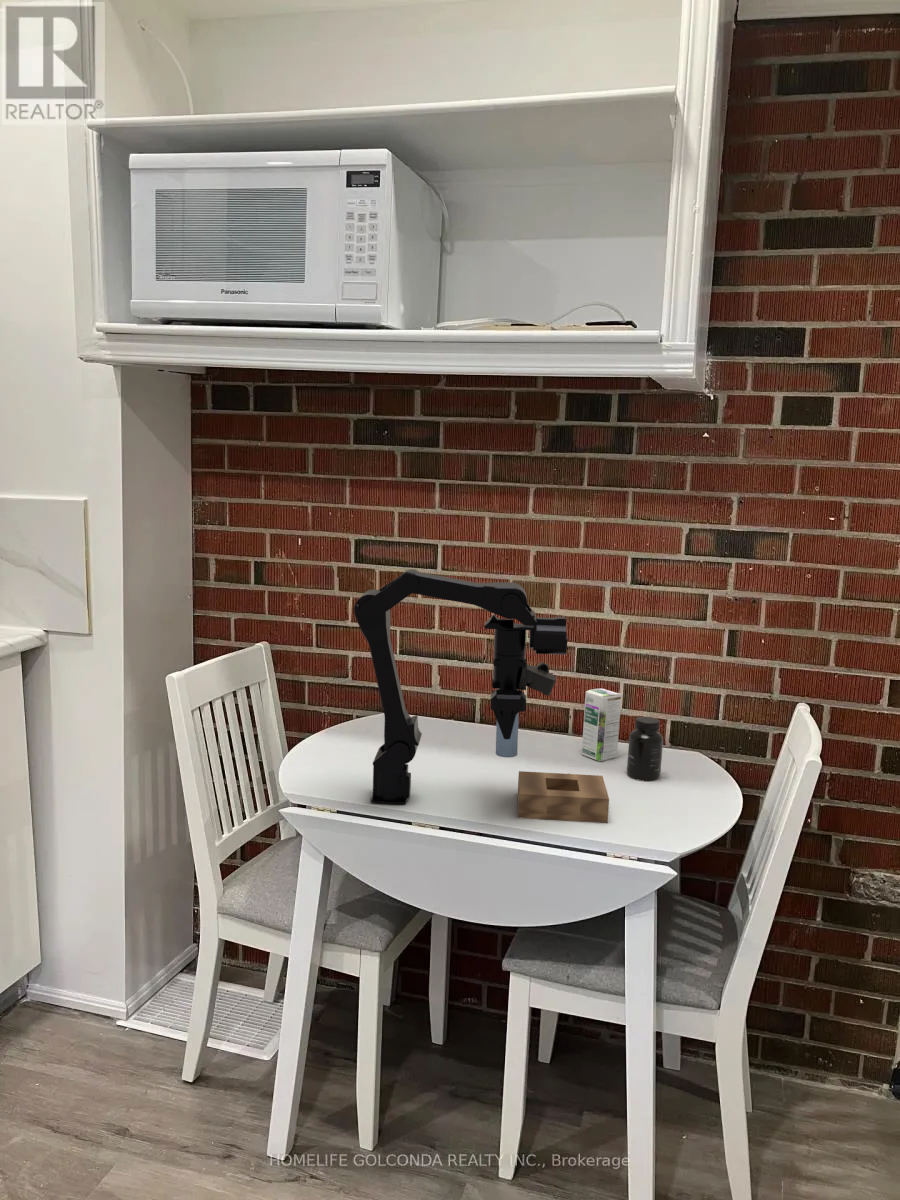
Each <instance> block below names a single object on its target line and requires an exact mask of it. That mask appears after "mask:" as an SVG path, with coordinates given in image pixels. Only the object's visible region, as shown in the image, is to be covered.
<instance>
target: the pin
mask: <svg viewBox="0 0 900 1200" xmlns="http://www.w3.org/2000/svg"><path fill="white" fill-rule="evenodd" d="M519 714H520V712H519V713H517V714H516V717H515V721H514V725H513V729H512V733H511V737H510V739H504V737H503V735H502V732H501V730H500V727H499V724H498V722H497V721H496V725H495V727H496V730H495V731H496V732H495V734H496V735H495V755H496V756H498V757H501V758H514V757H516V756H518V746H519V743H518V741H519V740H518V739H519V718H520V717H519V716H520V715H519Z"/></svg>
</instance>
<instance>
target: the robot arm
mask: <svg viewBox="0 0 900 1200" xmlns="http://www.w3.org/2000/svg"><path fill="white" fill-rule="evenodd" d="M412 594H415V595H420V596H425V597H430V598H436V599H441V600H446V601H452V602H457V603H464V604H468V605H473V606H476V607H479V608H481V609H483V610H485V611H486V612H489V613H492V615H491V617H489V619H488V620H486V621H485V622H484V627H483V628H484V629H485V630H494V633H493V634H494V636H493V637H494V638H493V639H494V640H493V642H494V643H493V664H492V665H493V667H492V668H493V673H492V676H491V688H492V689H495V690H492V692H491V694H490V710H491V711H492V712H493V714H494V717H495V719H496V723H497V722H498V724H499V727H500V730H501V732H502V735H503V737H504V739H510V737H511V733H512V729H513V725H514V721H515V717H516V714H517V713H519V714H520V712H522V713H523V712H526V711H527V695H526V694H525V692H524V691H527V688H529V689H532V690H534V691H537V692H539V693H541V694H542V695H543V696H544V695H545V696H546V697H547V696H548V697H550V696H551V694H552V691H553V688H554V686H555V684H556V682H557V678H556V675H555V674H554V673H553V672H550V669H549V664H547V663H545V662H542V661H540V663H538V664H537V665H536V666H535V665H529V664H528V662H527V659H528V658H527V657H526V648H527V647H526V643H527V642H526V641H527V631H529V637H528V638H529V639H528V640H529V641H528V642H529V643H528V644H529V645H528V646H529V649H532V651H534V654H536V655H561V656H562V655H565V656H566V655H567V652H568V636H567V618H566V617H565V616H556V617H543V616H542V617H541V616H537V615H536V613H535V610H533V609H532V608H531V606H530V605H529V604H528V596H527V593H526V590H525V589H524V587H522V585H520V584H518V583H516V582H510V581H509V582H501V581H495V582H494V581H493V582H474V581H469V580H464V579H459V578H453V577H448V576H443V575H438V574H437V575H436V574H433V573H427V572H422V571H418V570H417V569H414V568H413V569H411V568H409V569H406V570H404V571H403V572H402V573H401V575H399V576H397V577H396V578H395V579H393V580H392V581H390V582H388V583H387V584H386V585H384V586H382V587H381V588H379V589H369V590H367V591H365V592H364V593H363V594H362V595H361V596H359V598H358V599H357V600H356V603H355V604H354V608H353V612H354V613H353V614H354V617H355V620H356V621H357V624H358V626H359V629H360V631H361V633H362V635H363V636H364V639H366V643H368V646H369V650H370V655H371V660H372V664H373V669H374V674H375V678H376V682H377V687H378V692H379V696H380V697H379V698H380V702H381V706H382V712H383V715H384V726H383V727H384V729H383V730H384V733H383V738H384V740H383V741H384V743H383V744H382V745H380V747H379V748H378V749H377V752H376V755H375V756H374V759H373V761H372V766H373V768H372V795H371V798H370V802H371V803H373V804H389V805H392V804H393V805H406V803H407V801H408V799H409V798H410V796H411V789H412V784H411V783H412V772H410V771H409V763H410V762H412V760H413V759H414V758H415V757H416V752H417V751H418V747H419V745H420V741H421V738H422V734H423V733H422V732H421V731H420V728H419V718H418V715H414V716H410V714H409V712H408V710H407V708H406V705H405V700H404V696H403V690H402V687H401V686H402V685H401V683H400V682H401V681H400V676H399V673H398V668H397V663H396V658H395V653H394V649H393V644H392V639H391V619H392V618H391V609H392V608H394V607H395V606H396V605H397V604H399V603H401V602H402V601H403V600H405V599H406V598H407V597H408V596H410V595H412ZM497 616H499V617H502V618H498V617H497ZM514 619H515V620H516V621H518V622H519V623H515V622H514Z"/></svg>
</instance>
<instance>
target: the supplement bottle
mask: <svg viewBox="0 0 900 1200" xmlns="http://www.w3.org/2000/svg"><path fill="white" fill-rule="evenodd" d="M660 728H661V727H660V720H659V719H657V718H655V717H653V716H652V717H651V716H638V717H636V718H635V724H634V730H632V731H631V732H630V734H629V737H628V751H627V762H626V763H627V764H626V774H627V775H628V776H629V777H630V778H631V779H635V780H637V779H638V781H642V780H644V781H643V782H652V781H657V780H658V779H659V778H660V777H661V771H662V761H663V760H662V759H663V758H662V757H663V745H664V738H663V734H661V733H660V732H659V731H660Z"/></svg>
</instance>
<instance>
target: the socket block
mask: <svg viewBox="0 0 900 1200" xmlns="http://www.w3.org/2000/svg"><path fill="white" fill-rule="evenodd" d="M517 777H518V779H517V780H518V782H517V816H518V817H517V818H518V819H531V820H532V819H533V820H535V819H536V820H551V821H554V820H555V821H569V822H570V821H571V822H586V823H587V822H588V823H589V822H590V823H603V824H605V823H606V824H608V821H609V820H608V819H609V809H610V807H609V805H610V797H609V794H608V791H607V786H606V783H605V780H604V776H603V775H595V774H580V773H579V774H577V773H557V772H539V771H521V770H519V771H518V776H517Z"/></svg>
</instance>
